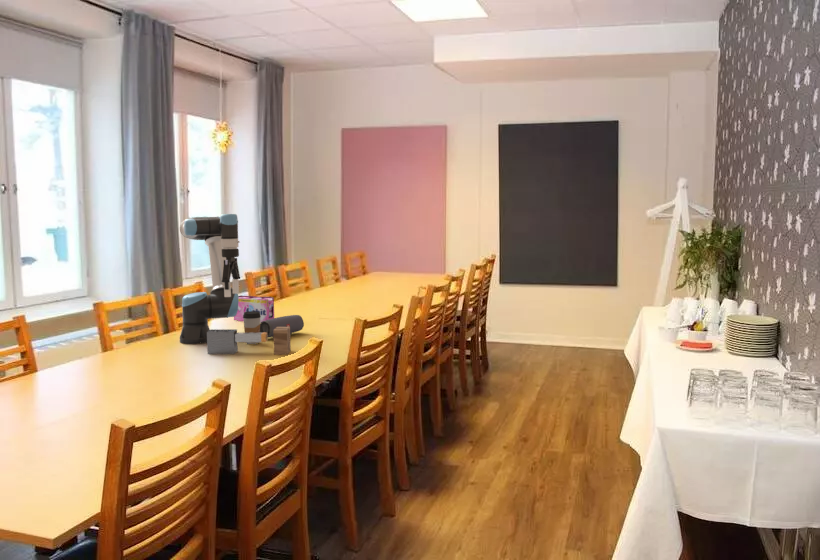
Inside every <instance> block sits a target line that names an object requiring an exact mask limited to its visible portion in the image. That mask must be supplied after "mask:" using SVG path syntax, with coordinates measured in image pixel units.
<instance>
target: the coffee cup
mask: <svg viewBox="0 0 820 560" xmlns="http://www.w3.org/2000/svg"><path fill="white" fill-rule="evenodd" d="M260 317H261V316H260V313H259V312H257V311H249V312H244V315H243V319H244V321H243V329H244V333H260ZM246 343H247V344H246ZM256 343H259V344H260V342H245V344H246V345H248V344H255V345H257V344H256Z"/></svg>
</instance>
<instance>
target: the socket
mask: <svg viewBox="0 0 820 560" xmlns="http://www.w3.org/2000/svg"><path fill="white" fill-rule="evenodd" d="M273 334H274V338H273V354H274V355H289V354H290V352H291V348H292V347H291V335H290V327H276V328H275V329H274V330H273Z"/></svg>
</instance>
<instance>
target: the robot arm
mask: <svg viewBox="0 0 820 560" xmlns="http://www.w3.org/2000/svg"><path fill="white" fill-rule="evenodd" d="M179 231H180V234H181V235H182V237H185V238H186V239H189V240H194V241H204V244H205V245H206V246H207V247H208V254H209V265H210V273H211V274H210V275H211V281H212V282H211V283H212V289H211V290H210V292H209V294H207V292H206V291H202V292H201V291H197V292H193V293H189V294H186V295H184V296H183V297H182V298H181V307H182V308H181V309H182V328H181V331H180V334H179V342H180V343H181V344H187V345H188V344H193V345H194V344H195V345H197V344H204V343H207V332H208V331H209V330H211V329H210V327H209V322H208V320H209V319H223V318H225V319H226V318H234V316H236V314H237V311H238V296H239V294H240V293H239V292H240V285H239V284H240V282H239V280H241V275H240V270H239V269H240V268H239V265H238V264H239V263H238V258H239V256H240V249H239V243H240V240H239V220H238V215H237V214H236V213H221V214H220V216H201V217H199V216H196V217H195V216H194V217H190V218H186V219H184V220H183V221H182V222H181V223H180V225H179ZM231 277H232V280H231ZM231 283H232V287H231Z"/></svg>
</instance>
